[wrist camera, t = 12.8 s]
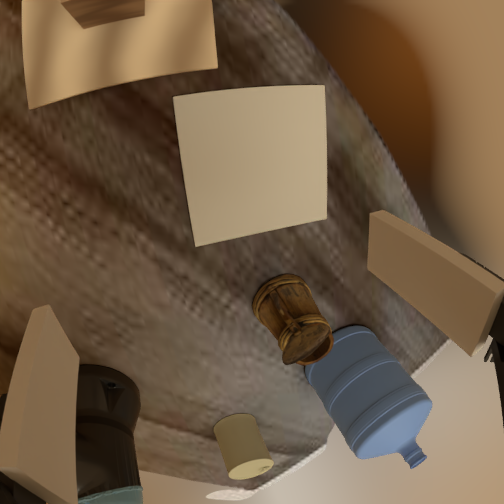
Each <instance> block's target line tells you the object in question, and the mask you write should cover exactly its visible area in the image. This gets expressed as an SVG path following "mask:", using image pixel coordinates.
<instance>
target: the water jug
mask: <svg viewBox="0 0 504 504" xmlns="http://www.w3.org/2000/svg"><path fill="white" fill-rule="evenodd" d="M332 335H333V338H334V344H333V347H332V349H331V351H330V352H329V353H328V354H327V355H326V356H325V357H324V358H322V359H321V360H319V361H318V362H316V363H313V364H309V365H306V367H305V374H306V378H307V380H308V382H309V383H310V384H311V386H312V387H314V389H315V391H316V392H317V394H318V396H319V397H320V399H321V400H322V402H323V404H324V407H325V409H326V410H327V412H328V414H329V415H330V416H331V418H332V419H333V420H334V422H335V423H336V425H337V427H338V428H339V430H340V431H341V433H342V435H343V436H344V438H345V441H346V443H347V444H348V446H349V447H350V449H351V450H352V451H353V452H354V453H355V455H356V457H358V458H360V459H369V458H374V457H378V456H383V455H387V454H391V453H396V452H398V453H400V454H401V455H402V456H403V458H404V460H405V461H406V462H408V464H409V465H410V468H411V469H412V468H414V467H416V466H417V465H419V464H420V463H421V462H423V461H424V460H425V459H426V458H427V456H426V455H424V454H423V452H422V449H421V448H420V447H419V446H418V445H417V443H416V441H415V438H416V436H417V435H418V433H419V431H420V429H421V428H422V426H423V424H424V422H425V420H426V418H427V416H428V415H429V413H430V410H431V408H432V401H431V400H430V398H429V397H428V396H427V394H426V392H424V390H423V389H422V388H421V387H420V386H419V385H418V384H417V383H416V382H415V381H414V380H413V379H412V378H411V377H410V375H409V374H408V373H407V372H406V371H405V370H404V369H403V367H402V366H401V364H400V363H399V361H398V360H397V359H396V358H395V357H394V356H393V355H392V354H390V353H389V351H388V350H387V349H386V348H385V347H384V346H383V345H382V344H381V342H380V341H379V340H378V339H377V337H376V336H375V334H374V333H373V332H372V331H371V330H370V329H368V328H366V327H364V326H350V327H346V328H343V329H341V330H338V331H336V332H335V333H333V334H332Z"/></svg>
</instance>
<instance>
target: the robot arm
mask: <svg viewBox="0 0 504 504" xmlns="http://www.w3.org/2000/svg"><path fill="white" fill-rule="evenodd" d="M367 269H368V270H369V271H371V272H372V273H373V274H374V275H375V276H377V277H378V278H379V279H380V280H382V281H383V282H384V283H385V284H387V285H388V286H389V287H390V288H391V289H393V290H394V291H395V292H396V293H398V294H399V295H400V296H401V297H402V298H404V299H405V300H406V301H407V302H408V303H410V304H411V305H412V306H413V307H414V308H416V309H417V310H418V311H419V312H420V313H421V314H423V315H424V316H425V317H426V318H427V319H428V320H430V321H431V322H432V323H433V324H434V325H435V326H437V327H438V328H439V329H440V330H441V331H442V332H443V333H445V334H446V335H447V336H448V337H449V338H450V339H451V340H453V341H454V342H455V343H456V344H457V345H458V346H459V347H460V348H462V349H463V350H464V351H465V352H466V353H467V354H468V355H469V356H470V357H472V356H473V355H474V354H476V353H477V352H478V351H479V350H480V349H482V348H483V346H484V344H485V342H486V340H487V337H488V335H490V336H491V337H492V338H493V340H492V342H491V345H490V347H489V349H488V351H487V353H486V355H485V357H484V362H487V360H488V358H489V356H490V354H491V353H492V354H493V356H492V358H491V361H490V362H494V363H495V369H496V374H497V380H498V385H499V392H500V400H501V407H502V416H503V426H504V279H502V278H501V277H499V276H498V275H496V274H495V273H493V272H492V271H490V270H489V269H487V268H486V267H485V268H484V267H483V265H481V264H479V263H476V262H475V260H473V259H472V258H470V257H468V256H467V255H464V254H462V253H459V252H456V251H455V250H453V249H451V248H450V247H448V246H447V245H445V244H443V243H442V242H440V241H438V240H436V239H435V238H433V237H431V236H430V235H428V234H426V233H424V232H423V231H421V230H419V229H417V228H416V227H414V226H412V225H410V224H408V223H407V222H405V221H403V220H401V219H399V218H397V217H396V216H394V215H392V214H390V213H388V212H386V211H384V210H381V211H377V212H374V213H370V225H369V247H368V263H367ZM79 359H80V357H79V356H78V354H77V352H76V351H75V349H74V348H73V346H72V344H71V343H70V341H69V339H68V337H67V336H66V334H65V332H64V331H63V329H62V327H61V325H60V323H59V322H58V320H57V318H56V316H55V314H54V312H53V311H52V309H51V307H50V305H45V306H42V307H38V308H35V309H33V311H32V313H31V316H30V319H29V322H28V325H27V328H26V331H25V334H24V337H23V340H22V343H21V346H20V350H19V353H18V356H17V360H16V363H15V367H14V371H13V374H12V378H11V382H10V386H9V390H8V393H6V394H2V396H1V398H0V504H46V502H47V503H48V504H143V496H142V490H143V488H142V486H141V483H140V477H139V471H138V465H137V458H136V451H135V444H134V436H133V433H134V429H135V426H136V422H137V419H138V415H139V412H140V407H141V403H140V394H139V390H138V388H137V386H136V385H135V384H134V382H133V381H132V380H131V379H129V378H128V377H127V376H125V375H124V374H122V373H120V372H118V371H116V370H113V369H110V368H107V367H103V366H96V365H81V366H79Z"/></svg>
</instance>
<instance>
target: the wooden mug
mask: <svg viewBox="0 0 504 504" xmlns="http://www.w3.org/2000/svg"><path fill="white" fill-rule="evenodd" d="M252 307H253V311H254V315H255V316H256V317H257V318H258V320H259V321H260V322H261V323H262V324H263V325H264V326H266V327H267V328H268V329H269V331H270V332H271V333H272V334H273V335H274V337H275V338H276V339H277V340H278V346H279V347H280V349H281V350H282V351H283V355H282V360H283V363H284V364H285V365H289V364H293V363H297V364H299V365H309V364H313V363H316V362H318V361H319V360H321V359H322V358H324V357H325V356H326V355H327V354H328V353H329V352H330V351H331V349H332V347H333V344H334V338H333V335H332V331H331V328H330V326H329V324H328V322H327V321H326V319H325V318H324V317H323V316H322V315H321V313H320V311H319V309H318V308H317V306H316V304H315V302H314V300H313V298H312V294H311V291H310V289H309V287H308V285H307V284H306V283H305V281H304V280H303V279H302V278H300V277H298V276H296V275H293V274H284V275H281V276H278V277H276V278H274V279H272V280H270V281H269V282H268V283H266V284H265V285H263V286H262V288H261V289H260V290H259V291H258V293H257V294H256V296H255V298H254V301H253V305H252Z"/></svg>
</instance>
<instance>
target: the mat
mask: <svg viewBox="0 0 504 504" xmlns="http://www.w3.org/2000/svg"><path fill="white" fill-rule="evenodd" d="M173 104H174V112H175V120H176V128H177V135H178V143H179V150H180V157H181V164H182V170H183V177H184V183H185V190H186V196H187V202H188V208H189V214H190V220H191V226H192V232H193V237H194V243H195V247H197V246H202V245H206V244H211V243H215V242H220V241H224V240H229V239H234V238H238V237H243V236H247V235H252V234H256V233H261V232H266V231H270V230H275V229H280V228H284V227H289V226H294V225H299V224H303V223H308V222H313V221H318V220H323V219H327V139H326V107H325V86H324V85H291V86H268V87H252V88H240V89H229V90H220V91H211V92H203V93H195V94H188V95H182V96H175V97H173Z"/></svg>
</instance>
